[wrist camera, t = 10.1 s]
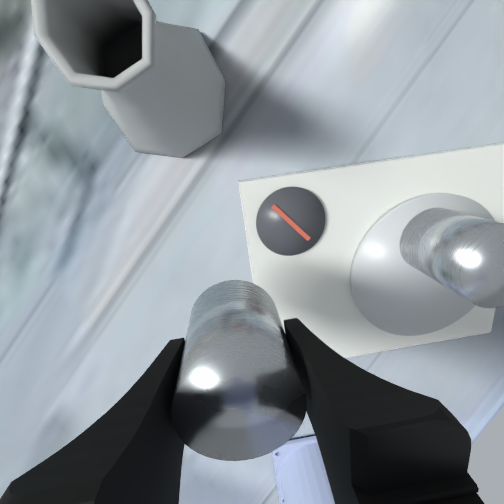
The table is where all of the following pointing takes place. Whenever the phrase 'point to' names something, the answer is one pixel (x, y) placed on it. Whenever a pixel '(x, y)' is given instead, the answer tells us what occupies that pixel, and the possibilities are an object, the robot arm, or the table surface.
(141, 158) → the table surface
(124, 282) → the table surface
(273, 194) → the scale
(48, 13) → the flask
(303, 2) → the table surface
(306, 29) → the table surface
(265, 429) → the cylinder
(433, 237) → the cylinder
